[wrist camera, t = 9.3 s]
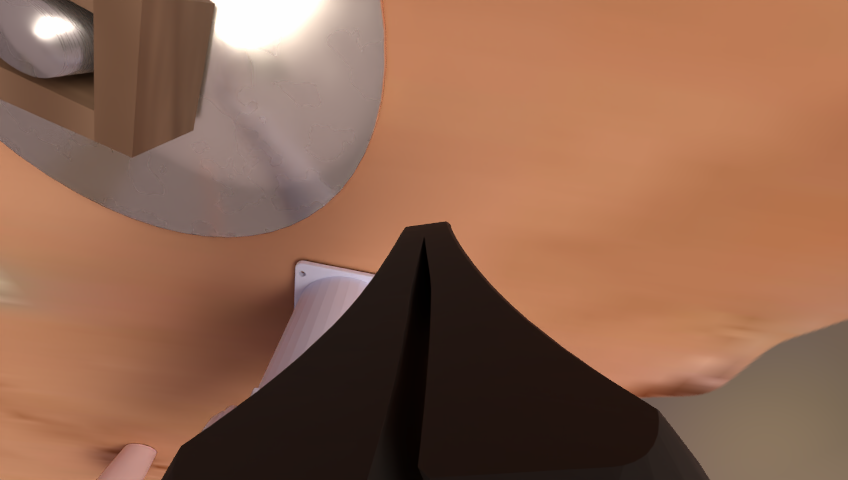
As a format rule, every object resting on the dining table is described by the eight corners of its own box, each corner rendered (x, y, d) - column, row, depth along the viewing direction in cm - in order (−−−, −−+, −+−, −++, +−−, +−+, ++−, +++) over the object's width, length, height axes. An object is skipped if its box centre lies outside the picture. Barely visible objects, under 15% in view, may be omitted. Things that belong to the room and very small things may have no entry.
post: (185, 68, 15) (75, 86, 11) (132, 54, 15) (-7, 66, 10) (176, 10, 14) (45, 1, 9) (118, -7, 14) (-50, -26, 9)
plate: (355, 257, 22) (352, 267, 21) (0, 185, 19) (-22, 193, 18) (443, -256, 10) (445, -285, 9) (-487, -680, 7) (-627, -789, 6)
